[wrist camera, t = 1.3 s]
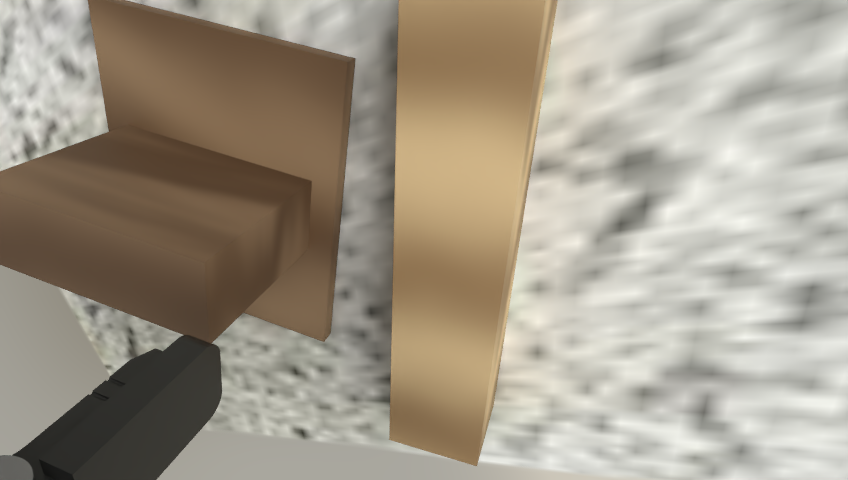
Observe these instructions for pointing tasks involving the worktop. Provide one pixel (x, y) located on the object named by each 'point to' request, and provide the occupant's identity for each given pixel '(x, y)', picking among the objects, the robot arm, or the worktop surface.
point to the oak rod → (459, 207)
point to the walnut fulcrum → (193, 179)
